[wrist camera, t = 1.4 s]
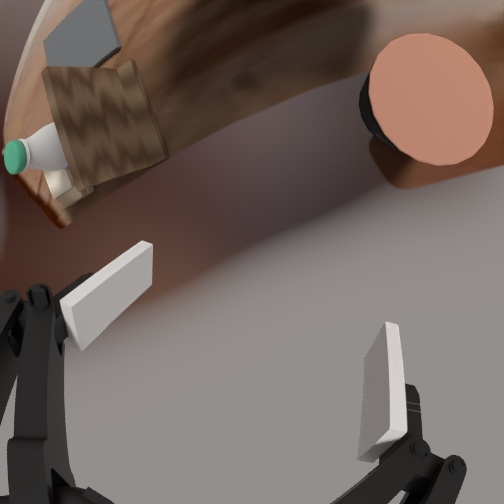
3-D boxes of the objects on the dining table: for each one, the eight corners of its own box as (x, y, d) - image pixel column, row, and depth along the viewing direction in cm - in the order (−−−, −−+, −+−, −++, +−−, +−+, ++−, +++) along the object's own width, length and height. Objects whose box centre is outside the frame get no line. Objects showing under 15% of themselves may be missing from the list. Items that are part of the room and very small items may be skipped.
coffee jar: (360, 146, 37) (371, 162, 21) (354, 67, 33) (360, 27, 17) (437, 149, 34) (494, 172, 18) (432, 72, 30) (486, 43, 14)
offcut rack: (47, 132, 51) (-15, 147, 37) (134, 60, 40) (60, 52, 26) (74, 208, 56) (15, 237, 42) (170, 156, 45) (99, 178, 31)
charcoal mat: (46, 41, 42) (43, 41, 41) (103, -13, 35) (99, -14, 34) (60, 99, 47) (56, 99, 46) (121, 47, 40) (117, 46, 39)
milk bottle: (83, 131, 48) (-6, 151, 31) (108, 107, 45) (12, 118, 27) (99, 165, 50) (10, 196, 32) (125, 143, 47) (29, 167, 29)
